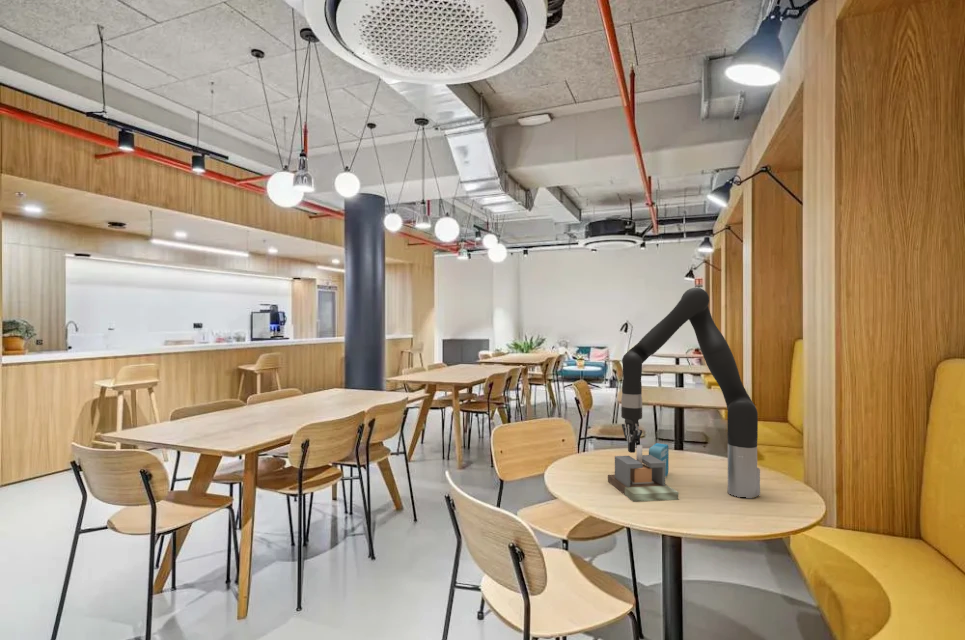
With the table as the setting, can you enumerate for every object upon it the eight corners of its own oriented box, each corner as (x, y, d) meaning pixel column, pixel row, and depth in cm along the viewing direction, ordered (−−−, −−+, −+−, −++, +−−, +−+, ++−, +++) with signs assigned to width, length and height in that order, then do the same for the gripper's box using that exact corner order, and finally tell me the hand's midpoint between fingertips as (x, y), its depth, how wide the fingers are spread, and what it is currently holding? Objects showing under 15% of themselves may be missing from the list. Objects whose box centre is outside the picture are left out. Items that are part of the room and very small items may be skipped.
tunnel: (650, 476, 187) (650, 454, 187) (665, 485, 176) (665, 462, 176) (614, 477, 185) (614, 456, 185) (627, 487, 174) (627, 464, 174)
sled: (645, 478, 184) (646, 443, 184) (653, 483, 178) (653, 447, 178) (625, 479, 183) (625, 443, 183) (632, 484, 177) (632, 447, 177)
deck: (647, 479, 191) (647, 473, 191) (678, 499, 169) (678, 492, 169) (607, 481, 189) (607, 474, 189) (633, 501, 167) (633, 494, 167)
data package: (660, 481, 189) (660, 450, 189) (648, 479, 191) (648, 448, 191) (668, 474, 199) (668, 443, 199) (656, 472, 201) (657, 442, 201)
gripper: (649, 408, 181) (649, 456, 181) (633, 402, 194) (633, 447, 194) (629, 408, 180) (629, 457, 180) (615, 403, 193) (614, 448, 193)
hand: (631, 452), depth 187 cm, fingers closed
